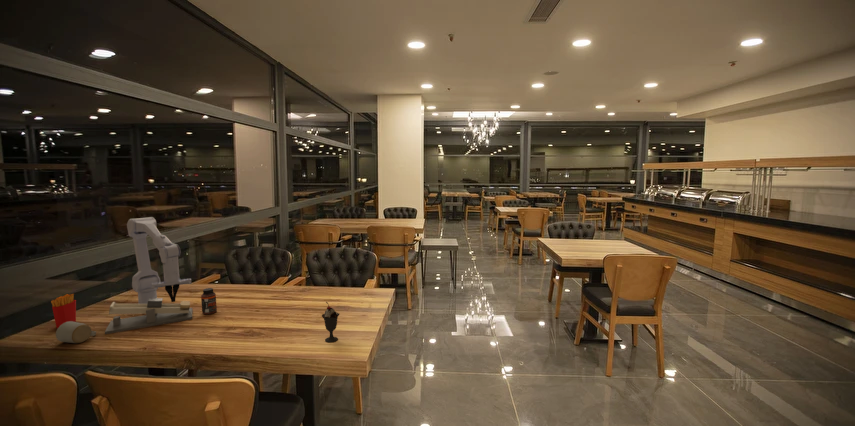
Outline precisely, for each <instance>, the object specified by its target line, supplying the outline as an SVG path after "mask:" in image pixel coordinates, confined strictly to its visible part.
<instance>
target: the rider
mask: <svg viewBox="0 0 855 426" xmlns="http://www.w3.org/2000/svg"><path fill="white" fill-rule="evenodd" d="M163 300H164V298H163V297H162V298H161V297H160V298H159V297H157V298H149V300H148V305H147V308H161V307H162V304H163Z"/></svg>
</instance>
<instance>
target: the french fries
mask: <svg viewBox="0 0 855 426" xmlns="http://www.w3.org/2000/svg"><path fill="white" fill-rule="evenodd" d="M74 295H75V293H72V294H71V293H69V294H68V293H66V294H65V295H63V296H62V295H61V296H59V297H56V298H55V299H52V300H51V301H50V303H51V305H52V306H51V307H52V308H51V309H52V312H53V317H54V322H55V327H56V329H58V328H59V326H60V325H62V324H63V323H65V322H68V321H73V322H77V300H76V299H74Z"/></svg>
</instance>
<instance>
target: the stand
mask: <svg viewBox="0 0 855 426" xmlns="http://www.w3.org/2000/svg"><path fill="white" fill-rule="evenodd" d="M190 320H193V307H190V308H189V313H155V309H150V310H146V314H144V315H142V314H141V315H136V316H131V317H125V318H121V315H118V316H113V318H112V320H110V322H109V324H108V325H107V327H106V329H105V330H104V335H107V334H114V333H118V332H119V333H120V332H126V331H132V330H137V329H142V328H149V327H154V326H160V325H164V324H171V323H172V324H173V323H178V322H184V321H190Z"/></svg>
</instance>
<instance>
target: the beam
mask: <svg viewBox="0 0 855 426" xmlns="http://www.w3.org/2000/svg"><path fill="white" fill-rule="evenodd" d="M147 305H148V304H139V303H116V301H113V302H111V304H110V306H109V310H108V311H109V312H108V315H134V314H135V315H137V314H138V315H140V314H141V315H142V314H144V315H146V310H150V309H155V313H189V308H191V301H190V300H182V301H181V300H180V303H162V307H161V308H147Z"/></svg>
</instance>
